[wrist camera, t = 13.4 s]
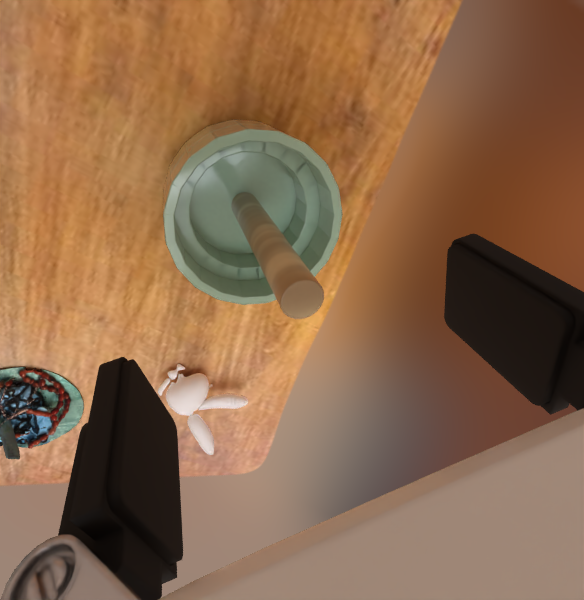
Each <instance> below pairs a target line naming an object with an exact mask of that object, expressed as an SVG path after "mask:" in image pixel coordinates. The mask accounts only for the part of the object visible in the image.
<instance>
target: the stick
mask: <svg viewBox="0 0 584 600" xmlns="http://www.w3.org/2000/svg"><path fill="white" fill-rule="evenodd" d="M231 208H232V211H233V213H234V215H235V217H236V219H237V221H238V223H239V225H240V227H241V229H242V231H243V233H244V235H245V237H246V239H247V241H248V243H249V245H250V247H251V249H252V251H253V253H254V255H255V257H256V259H257V261H258V263H259V265H260V267H261V269H262V271H263V273H264V275H265V277H266V279H267V281H268V283H269V285H270V287H271V289H272V291H273V293H274V295H275V297H276V299H277V301H278V303H279V305H280V307H281V309H282V311H283V312H284V314H286V315H287V316H288V317H291V318H294V319H303V318H307V317H309V316H311V315H313V314H314V313H315V312H317V310H318V309H319V308H320V307H321V305H322V303H323V299H324V292H323V289H322V287H321V285H320V284H319V283H318V281H317V280H316V278H315V277H314V276H313V274H312V273H311V272H310V270H309V269H308V268H307V266H306V265H305V264H304V262H303V261H302V260H301V258H300V257H299V256H298V254H297V253H296V251H295V250H294V249H293V247H292V246H291V245H290V243H289V242H288V241H287V239H286V238H285V237H284V235H283V234H282V233H281V231H280V230H279V228H278V227H277V226H276V224H275V223H274V222H273V220H272V219H271V218H270V216H269V215H268V214H267V212H266V211H265V210H264V208H263V207H262V205H261V204H260V203H259V201H258V200H257V199H256V197H255V196H254V195H253V194H251V193H248V192H242V193H239V194H237V195H236V196H235V197H234V198H233V200H232V204H231Z"/></svg>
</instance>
